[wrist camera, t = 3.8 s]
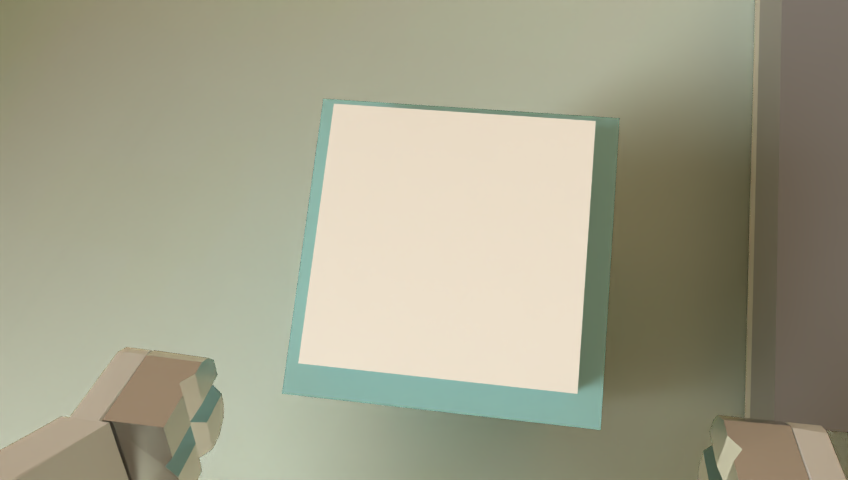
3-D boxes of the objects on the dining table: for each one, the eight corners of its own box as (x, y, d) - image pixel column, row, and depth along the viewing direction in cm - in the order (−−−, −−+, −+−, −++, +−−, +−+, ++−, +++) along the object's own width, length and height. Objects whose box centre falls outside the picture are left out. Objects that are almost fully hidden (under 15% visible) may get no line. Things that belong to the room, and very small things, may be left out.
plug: (380, 389, 19) (259, 395, 9) (399, 223, 20) (306, 72, 10) (551, 408, 19) (611, 434, 9) (563, 238, 20) (632, 91, 10)
